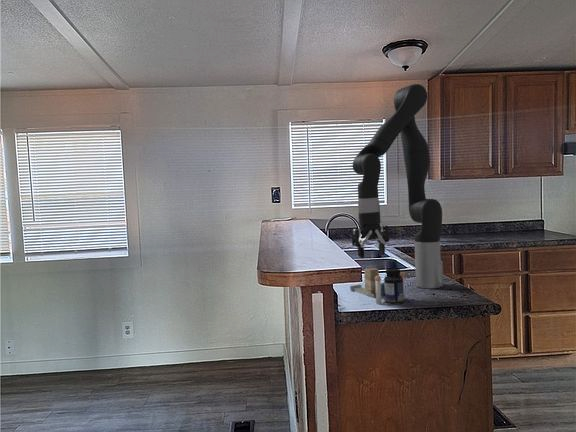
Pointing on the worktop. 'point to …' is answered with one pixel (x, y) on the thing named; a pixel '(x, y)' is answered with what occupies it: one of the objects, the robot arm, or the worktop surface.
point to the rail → (361, 290)
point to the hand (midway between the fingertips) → (371, 256)
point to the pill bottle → (393, 287)
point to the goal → (378, 287)
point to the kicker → (372, 281)
